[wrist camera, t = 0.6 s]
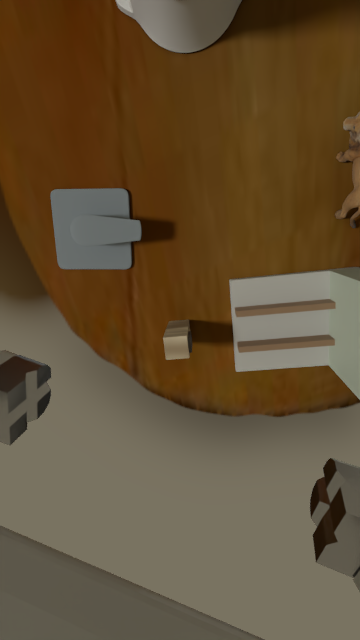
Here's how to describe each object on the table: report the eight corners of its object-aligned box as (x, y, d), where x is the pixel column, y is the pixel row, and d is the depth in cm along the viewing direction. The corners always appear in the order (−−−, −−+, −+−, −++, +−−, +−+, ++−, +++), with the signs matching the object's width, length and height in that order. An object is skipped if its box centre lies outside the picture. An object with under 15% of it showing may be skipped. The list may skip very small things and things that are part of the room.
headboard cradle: (229, 279, 53) (239, 299, 39) (356, 266, 51) (417, 283, 37) (235, 368, 58) (246, 417, 43) (353, 360, 56) (406, 407, 41)
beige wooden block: (168, 321, 56) (163, 337, 48) (191, 319, 56) (189, 335, 47) (171, 340, 57) (166, 359, 49) (193, 338, 57) (191, 357, 48)
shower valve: (142, 273, 49) (45, 272, 50) (148, 268, 54) (60, 268, 55) (139, 184, 45) (35, 185, 46) (145, 188, 51) (52, 190, 52)
